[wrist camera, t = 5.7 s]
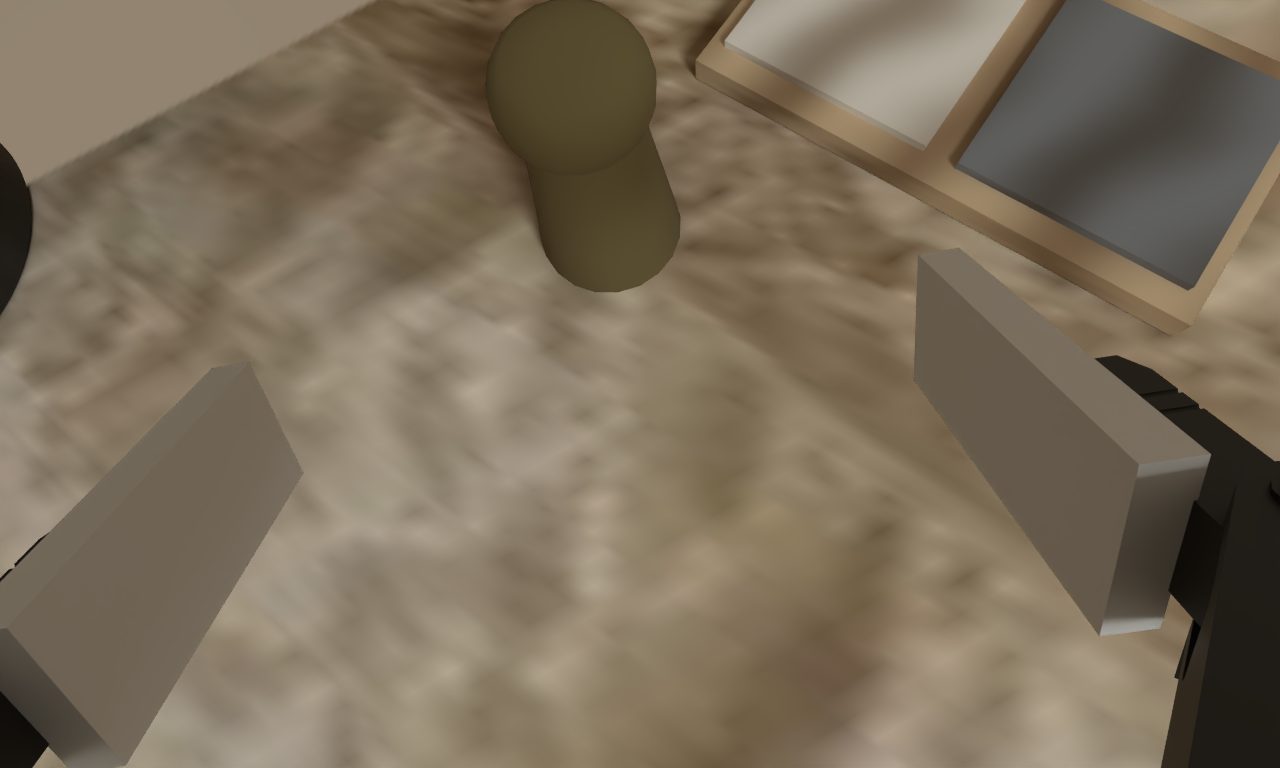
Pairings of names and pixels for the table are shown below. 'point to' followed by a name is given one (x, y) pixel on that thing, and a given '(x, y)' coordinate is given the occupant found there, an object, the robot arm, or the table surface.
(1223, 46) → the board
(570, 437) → the table surface
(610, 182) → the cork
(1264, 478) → the robot arm
